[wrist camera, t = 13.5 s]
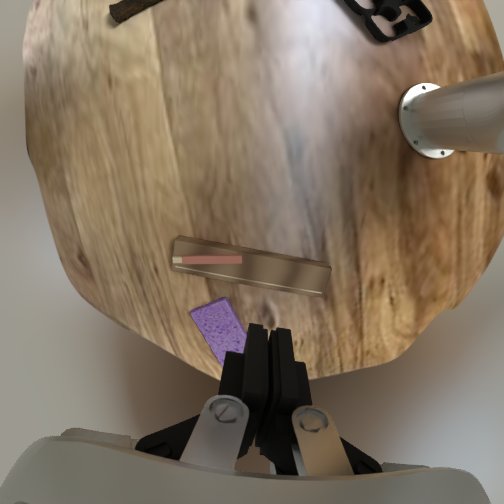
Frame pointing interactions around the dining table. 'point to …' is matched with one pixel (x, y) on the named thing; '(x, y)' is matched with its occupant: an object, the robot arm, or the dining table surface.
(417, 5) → the black openwork frame
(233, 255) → the carpenters pencil
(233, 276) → the walnut board
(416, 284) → the dining table surface
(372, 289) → the dining table surface
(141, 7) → the hand tool
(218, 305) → the sponges
